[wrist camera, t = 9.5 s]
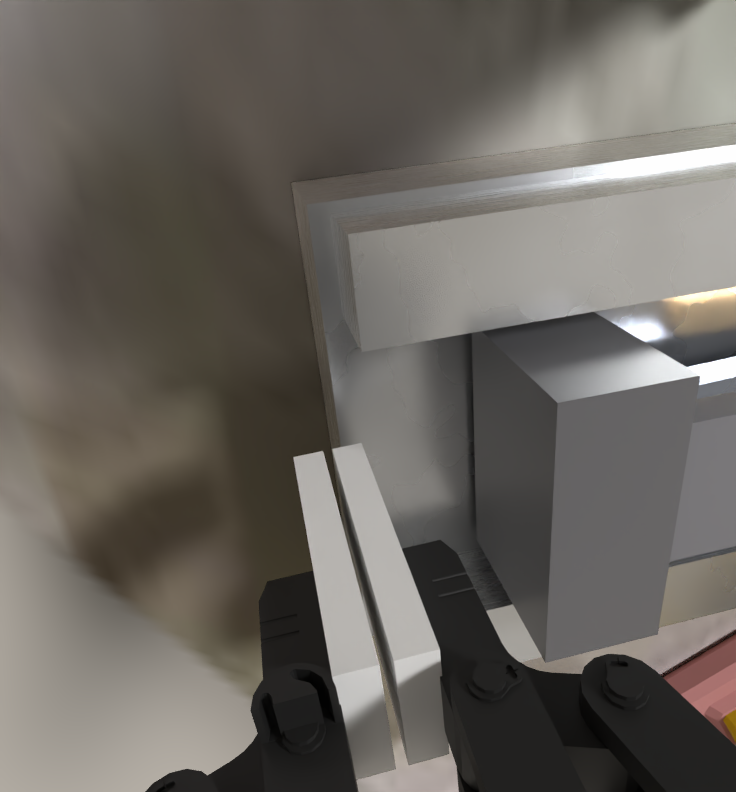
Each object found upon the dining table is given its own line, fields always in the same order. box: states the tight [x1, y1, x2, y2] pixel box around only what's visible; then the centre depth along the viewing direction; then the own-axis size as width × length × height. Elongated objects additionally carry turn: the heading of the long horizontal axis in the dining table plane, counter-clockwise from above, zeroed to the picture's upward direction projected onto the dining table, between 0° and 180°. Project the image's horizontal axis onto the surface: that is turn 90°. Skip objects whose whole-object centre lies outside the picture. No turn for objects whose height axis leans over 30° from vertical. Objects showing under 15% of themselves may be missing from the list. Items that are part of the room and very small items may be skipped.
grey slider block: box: [472, 312, 736, 663], centre depth 16 cm, size 7×6×5 cm
